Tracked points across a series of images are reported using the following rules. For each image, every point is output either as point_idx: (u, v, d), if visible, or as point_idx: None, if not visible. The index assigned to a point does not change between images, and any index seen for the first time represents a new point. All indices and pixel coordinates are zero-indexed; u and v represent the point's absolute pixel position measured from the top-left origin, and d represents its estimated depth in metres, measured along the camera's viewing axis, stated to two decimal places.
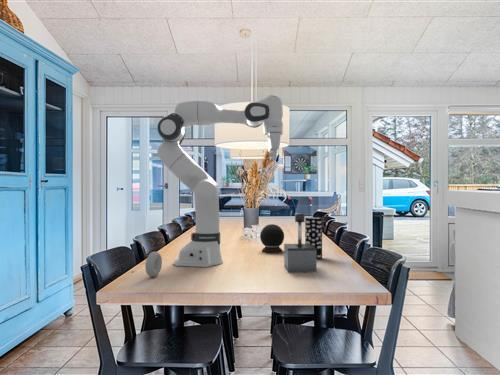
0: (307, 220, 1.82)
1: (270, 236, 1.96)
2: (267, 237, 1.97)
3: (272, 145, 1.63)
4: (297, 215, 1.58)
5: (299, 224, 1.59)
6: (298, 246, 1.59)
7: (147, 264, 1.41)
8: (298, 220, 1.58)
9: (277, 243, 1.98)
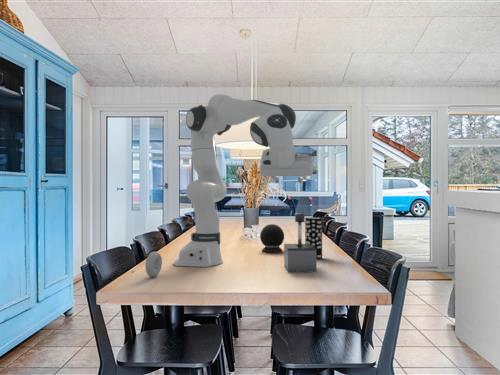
0: (307, 220, 1.82)
1: (270, 236, 1.96)
2: (267, 237, 1.97)
3: None
4: (297, 215, 1.58)
5: (299, 224, 1.59)
6: (298, 246, 1.59)
7: (147, 264, 1.41)
8: (298, 220, 1.58)
9: (277, 243, 1.98)
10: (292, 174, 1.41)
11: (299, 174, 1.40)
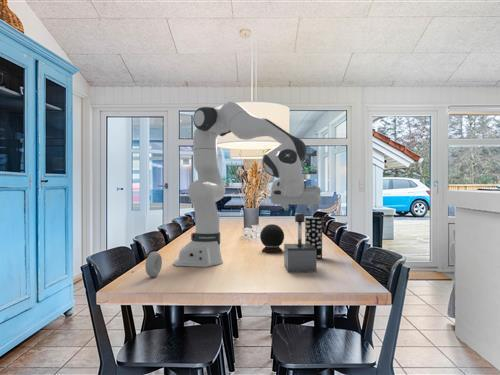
0: (307, 220, 1.82)
1: (270, 236, 1.96)
2: (267, 237, 1.97)
3: None
4: (297, 215, 1.58)
5: (299, 224, 1.59)
6: (298, 246, 1.59)
7: (147, 264, 1.41)
8: (298, 220, 1.58)
9: (277, 243, 1.98)
10: (301, 203, 1.49)
11: (308, 203, 1.48)
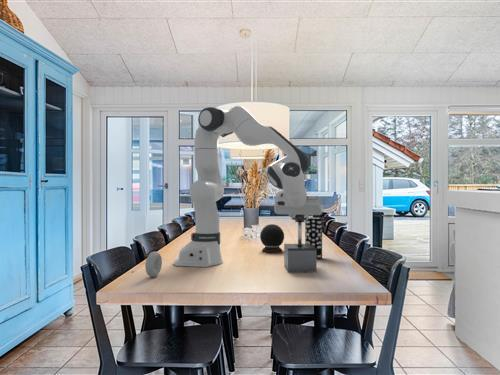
0: (307, 220, 1.82)
1: (270, 236, 1.96)
2: (267, 237, 1.97)
3: None
4: (297, 215, 1.58)
5: (299, 224, 1.59)
6: (298, 246, 1.59)
7: (147, 264, 1.41)
8: (298, 220, 1.58)
9: (277, 243, 1.98)
10: (303, 213, 1.55)
11: (310, 213, 1.54)
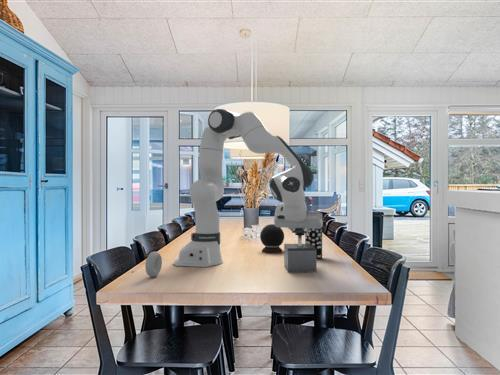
0: None
1: (270, 236, 1.96)
2: (267, 237, 1.97)
3: None
4: (297, 228, 1.58)
5: (299, 237, 1.59)
6: None
7: (147, 264, 1.41)
8: (298, 233, 1.58)
9: (277, 243, 1.98)
10: (303, 227, 1.55)
11: (310, 227, 1.54)
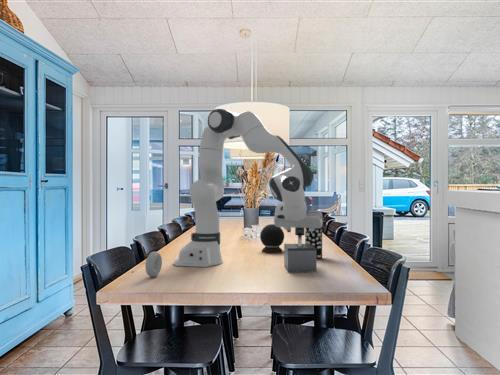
0: None
1: (270, 236, 1.96)
2: (267, 237, 1.97)
3: None
4: (297, 228, 1.58)
5: (299, 237, 1.59)
6: None
7: (147, 264, 1.41)
8: (298, 233, 1.58)
9: (277, 243, 1.98)
10: (303, 226, 1.54)
11: (310, 226, 1.54)
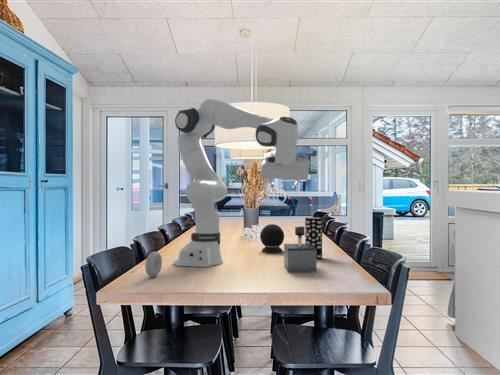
0: (307, 220, 1.82)
1: (270, 236, 1.96)
2: (267, 237, 1.97)
3: None
4: (297, 228, 1.58)
5: (299, 237, 1.59)
6: None
7: (147, 264, 1.41)
8: (298, 233, 1.58)
9: (277, 243, 1.98)
10: (290, 176, 1.55)
11: (296, 177, 1.55)
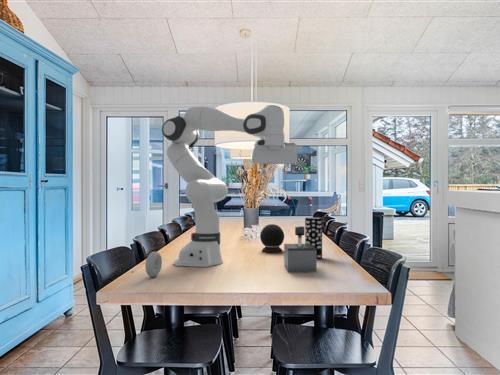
0: (307, 220, 1.82)
1: (270, 236, 1.96)
2: (267, 237, 1.97)
3: None
4: (297, 228, 1.58)
5: (299, 237, 1.59)
6: None
7: (147, 264, 1.41)
8: (298, 233, 1.58)
9: (277, 243, 1.98)
10: (280, 160, 1.60)
11: (286, 161, 1.60)
